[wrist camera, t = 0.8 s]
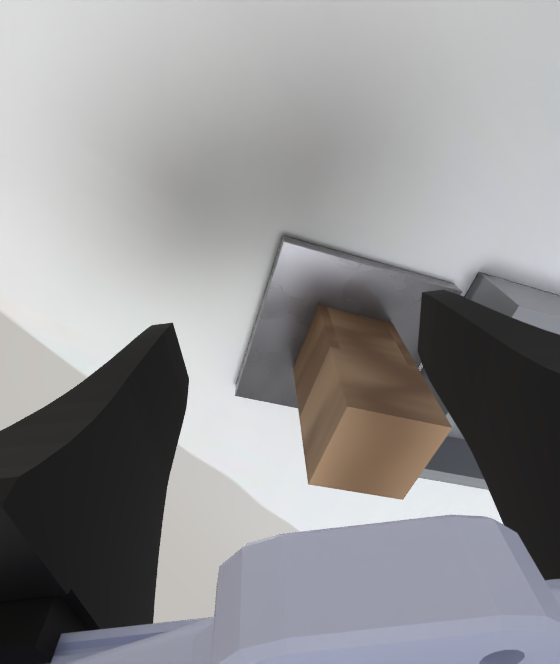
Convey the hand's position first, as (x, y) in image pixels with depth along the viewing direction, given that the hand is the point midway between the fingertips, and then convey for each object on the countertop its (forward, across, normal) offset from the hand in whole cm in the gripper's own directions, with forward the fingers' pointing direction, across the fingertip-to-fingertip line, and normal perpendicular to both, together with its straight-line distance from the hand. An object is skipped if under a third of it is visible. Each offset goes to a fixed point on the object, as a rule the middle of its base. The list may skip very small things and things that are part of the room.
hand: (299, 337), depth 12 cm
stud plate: (+10, -3, +7) cm, 13 cm away
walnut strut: (+9, -3, +7) cm, 12 cm away
